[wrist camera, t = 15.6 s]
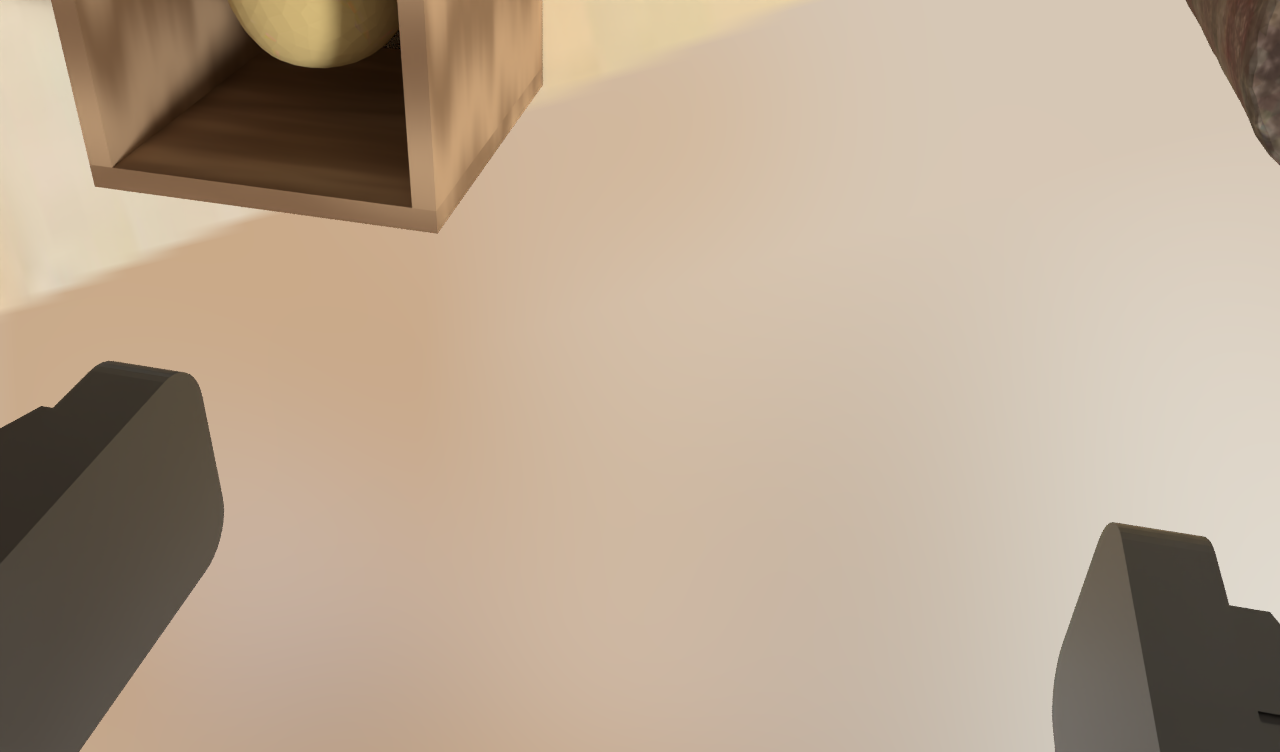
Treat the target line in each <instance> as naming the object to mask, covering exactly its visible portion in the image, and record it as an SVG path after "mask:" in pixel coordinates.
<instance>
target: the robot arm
mask: <svg viewBox="0 0 1280 752" xmlns="http://www.w3.org/2000/svg"><path fill="white" fill-rule="evenodd" d="M223 518H224V504H223V497H222V492H221V487H220V482H219V477H218V472H217V467H216V462H215V457H214V452H213V447H212V442H211V437H210V432H209V428H208V422H207V418H206V413H205V407H204V403H203V397H202V393H201V390H200V387H199V385H198V383H197V381H196V380H195V379H194V377H192V376H191V375H190V374H187V373H184V372H178V371H172V370H165V369H159V368H153V367H147V366H140V365H134V364H128V363H121V362H114V361H106V362H102V363H101V364H99V365H97V366H95V367H94V368H93V369H92V370H91V371H90V372H89V373H88V374H87V375H86V376H85V377H84V378H83V379H82V380H81V381H80V382H79V383H78V384H77V385H76V386H75V387H74V388H73V389H72V390H71V391H69V393H67V395H66V396H64V398H63V399H62V400H60V401H59V402H58V404H56V405H55V407H53V408H50V407H43V406H41V407H39V408H37V409H35V410H33V411H32V412H30V413H28V414H26V415H24V416H22V417H20V418H19V419H17V420H15V421H13V422H11V423H9V424H8V425H6V426H4V427H2V428H0V752H79V751H80V749H81V748H82V747H83V745H84V744H85V742H86V741H87V740H88V738H89V737H90V735H91V734H92V732H93V731H94V730H95V728H96V727H97V725H98V724H99V722H100V721H101V720H102V718H103V717H104V715H105V714H106V713H107V711H108V710H109V708H110V707H111V705H112V704H113V703H114V701H115V700H116V698H117V697H118V695H119V694H120V693H121V691H122V690H123V688H124V687H125V685H126V684H127V682H128V681H129V680H130V678H131V677H132V675H133V674H134V673H135V671H136V670H137V668H138V667H139V665H140V664H141V663H142V661H143V660H144V658H145V657H146V655H147V654H148V653H149V651H150V650H151V648H152V647H153V645H154V644H155V643H156V641H157V640H158V638H159V637H160V635H161V634H162V633H163V631H164V630H165V628H166V627H167V625H168V624H169V623H170V621H171V620H172V618H173V617H174V615H175V614H176V613H177V611H178V610H179V608H180V607H181V605H182V604H183V603H184V601H185V600H186V598H187V597H188V595H189V594H190V593H191V591H192V590H193V588H194V587H195V586H196V584H197V583H198V581H199V580H200V578H201V577H202V576H203V574H204V573H205V571H206V570H207V568H208V567H209V565H210V563H211V561H212V559H213V557H214V555H215V552H216V550H217V547H218V544H219V541H220V537H221V532H222V527H223ZM1052 720H1053V733H1054V742H1055V752H1280V624H1279V623H1278V621H1277V620H1276V619H1275V618H1274V617H1273V615H1272V614H1271V613H1270V612H1266V611H1260V610H1254V609H1248V608H1242V607H1236V606H1230V605H1229V603H1228V599H1227V595H1226V592H1225V588H1224V584H1223V580H1222V577H1221V573H1220V570H1219V566H1218V562H1217V558H1216V554H1215V551H1214V548H1213V546H1212V544H1211V542H1210V541H1209V540H1208V539H1207V538H1206V537H1202V536H1196V535H1190V534H1184V533H1177V532H1171V531H1165V530H1159V529H1152V528H1145V527H1140V526H1133V525H1127V524H1121V523H1114V522H1112V523H1109V524H1108V525H1107V526H1106V527H1105V529H1104V530H1103V532H1102V534H1101V536H1100V539H1099V541H1098V544H1097V547H1096V550H1095V553H1094V555H1093V558H1092V561H1091V564H1090V567H1089V570H1088V573H1087V575H1086V578H1085V581H1084V584H1083V587H1082V590H1081V593H1080V596H1079V599H1078V601H1077V604H1076V607H1075V610H1074V613H1073V615H1072V618H1071V621H1070V624H1069V627H1068V630H1067V633H1066V636H1065V639H1064V641H1063V644H1062V647H1061V651H1060V654H1059V658H1058V663H1057V668H1056V674H1055V680H1054V689H1053V706H1052Z"/></svg>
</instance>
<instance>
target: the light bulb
mask: <svg viewBox="0 0 1280 752" xmlns="http://www.w3.org/2000/svg"><path fill="white" fill-rule="evenodd" d="M228 2H229V5H230V7H231V9H232V10H233V12H234V14H235V15H236V17H237V19H238V20H239V22H240V24H241V25H242V27H243V28H244V30H245V31H246V32H247V33H248V35H249V36H250V37H251V38H252V39H253V40H254V41H255V42H256V43H257V44H258V45H259V46H260V47H261V48H262V49H263V50H265V51H266V52H267V53H269V54H270V55H271V56H273V57H275V58H277V59H279V60H281V61H284V62H287V63H290V64H293V65H297V66H303V67H309V68H331V67H339V66H344V65H348V64H352V63H356V62H358V61H360V60H362V59H364V58H366V57H369V56H371V55H372V54H374V53H375V52H377V51H378V50H379V49H381V48H382V47H383V46H385V45H386V44H387V43H388V42H389V41H390V39H391V38H392V37H393V36H394V35H395V34H396V32H397V31H398V29H399V18H398V4H397V0H228Z"/></svg>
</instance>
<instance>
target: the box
mask: <svg viewBox="0 0 1280 752" xmlns="http://www.w3.org/2000/svg"><path fill="white" fill-rule="evenodd" d="M51 2H52V6H53V10H54V15H55V19H56V23H57V27H58V32H59V36H60V40H61V44H62V49H63V53H64V57H65V61H66V66H67V70H68V74H69V78H70V83H71V87H72V91H73V95H74V100H75V104H76V108H77V112H78V117H79V121H80V125H81V129H82V134H83V138H84V142H85V146H86V151H87V155H88V159H89V163H90V168H91V172H92V176H93V180H94V185H95V187H102V188H110V189H117V190H124V191H131V192H139V193H146V194H153V195H161V196H168V197H175V198H182V199H190V200H197V201H204V202H212V203H219V204H226V205H233V206H241V207H248V208H255V209H263V210H270V211H277V212H284V213H292V214H299V215H306V216H314V217H322V218H328V219H335V220H343V221H350V222H358V223H365V224H372V225H380V226H387V227H394V228H401V229H408V230H416V231H423V232H430V233H438V232H439V231H440V229H441V228H442V226H443V225H444V224H445V222H446V221H447V219H448V218H449V217H450V215H451V214H452V212H453V211H454V209H455V208H456V207H457V205H458V204H459V202H460V201H461V200H462V198H463V197H464V195H465V194H466V193H467V191H468V189H469V188H470V187H471V185H472V184H473V183H474V181H475V180H476V178H477V177H478V176H479V174H480V173H481V171H482V170H483V169H484V167H485V166H486V164H487V163H488V161H489V160H490V159H491V157H492V156H493V154H494V153H495V152H496V150H497V149H498V147H499V146H500V144H501V143H502V142H503V140H504V139H505V137H506V136H507V134H508V133H509V132H510V130H511V129H512V127H513V126H514V125H515V123H516V122H517V120H518V119H519V118H520V116H521V115H522V113H523V112H524V111H525V109H526V108H527V106H528V105H529V103H530V102H531V101H532V99H533V98H534V96H535V95H536V94H537V92H538V91H539V89H540V88H541V87H542V85H543V75H542V0H397V4H398V18H399V31H400V45H401V50H399V49H391V48H381V49H379V50H378V51H377V52H375V53H374V54H372V55H371V56H369V57H366V58H364V59H362V60H360V61H358V62H356V63H352V64H348V65H344V66H339V67H331V68H309V67H303V66H297V65H293V64H290V63H287V62H284V61H281V60H279V59H277V58H275V57H273V56H271V55H270V54H269V53H267V52H266V51H265V50H263V49H262V48H261V47H260V46H259V45H258V44H257V43H256V42H255V41H254V40H253V39H252V38H251V37H250V36H249V35H248V33H247V32H246V31H245V30H244V28H243V27H242V25H241V24H240V22H239V20H238V19H237V17H236V15H235V14H234V12H233V10H232V9H231V7H230V5H229V2H228V0H51Z"/></svg>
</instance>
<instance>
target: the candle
mask: <svg viewBox="0 0 1280 752" xmlns="http://www.w3.org/2000/svg"><path fill="white" fill-rule="evenodd" d="M1186 2H1187V4H1188V6H1189V7H1190V9H1191V11H1192V12H1193V14H1194V16H1195V17H1196V19H1197V21H1198V23H1199V24H1200V26H1201V28H1202V30H1203V32H1204V35H1205V36H1206V38H1207V41H1208V43H1209V45H1210V47H1211V49H1212V51H1213V53H1214V54H1215V55H1216V57H1217V59H1218V61H1219V64H1220V66H1221V68H1222V70H1223V72H1224V74H1225V75H1226V77H1227V79H1228V80H1229V82H1230V84H1231V86H1232V88H1233V89H1234V91H1235V93H1236V95H1237V97H1238V98H1239V100H1240V102H1241V104H1242V106H1243V108H1244V110H1245V112H1246V114H1247V116H1248V118H1249V120H1250V123H1251V126H1252V128H1253V131H1254V133H1255V135H1256V137H1257V138H1258V140H1259V141H1260V142H1261V144H1262V145H1263V147H1264V148H1265V149H1266V151H1267V152H1268V154H1269V155H1270V156H1271V157H1272V158H1273V159H1274V160H1275V161H1276V162H1277V163H1278V164H1279V165H1280V0H1186Z"/></svg>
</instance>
